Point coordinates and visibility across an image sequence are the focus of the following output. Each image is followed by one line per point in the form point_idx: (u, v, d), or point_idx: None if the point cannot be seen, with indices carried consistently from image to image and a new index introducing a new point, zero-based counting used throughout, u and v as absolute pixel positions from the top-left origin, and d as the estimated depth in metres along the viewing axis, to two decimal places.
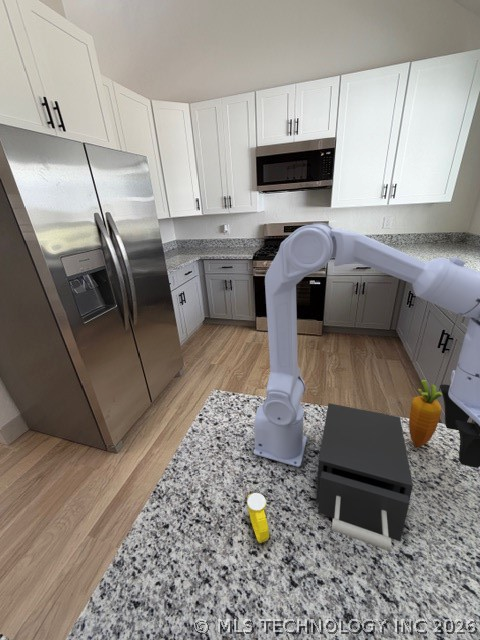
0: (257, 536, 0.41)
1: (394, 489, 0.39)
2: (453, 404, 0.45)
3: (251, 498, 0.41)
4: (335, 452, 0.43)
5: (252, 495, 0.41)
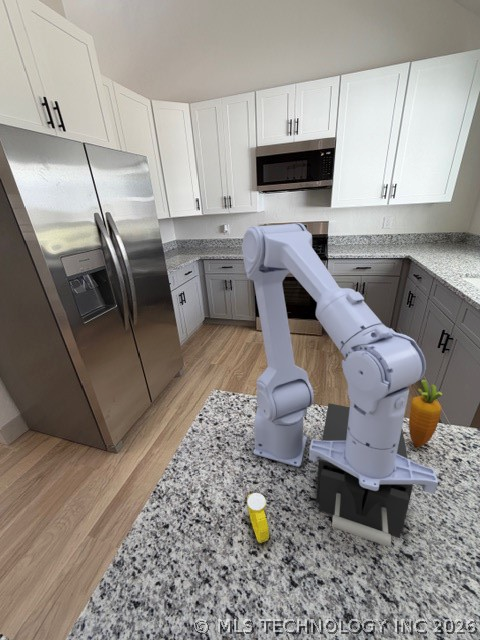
0: (257, 536, 0.41)
1: (394, 486, 0.40)
2: None
3: (251, 498, 0.41)
4: None
5: (252, 495, 0.41)
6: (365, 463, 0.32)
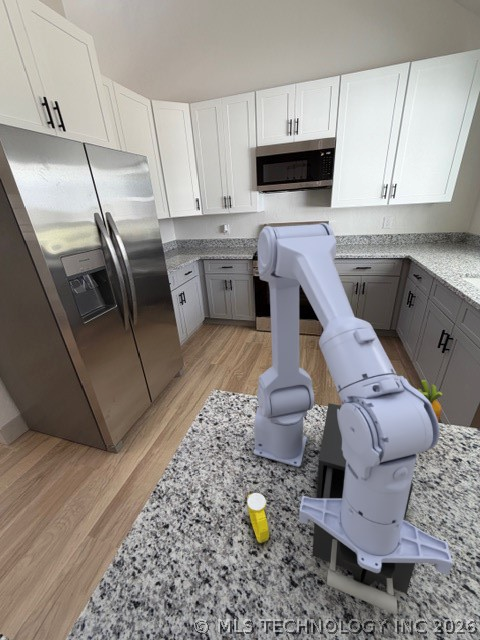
0: (257, 536, 0.41)
1: None
2: None
3: (251, 498, 0.41)
4: (335, 452, 0.43)
5: (252, 495, 0.41)
6: (364, 537, 0.27)
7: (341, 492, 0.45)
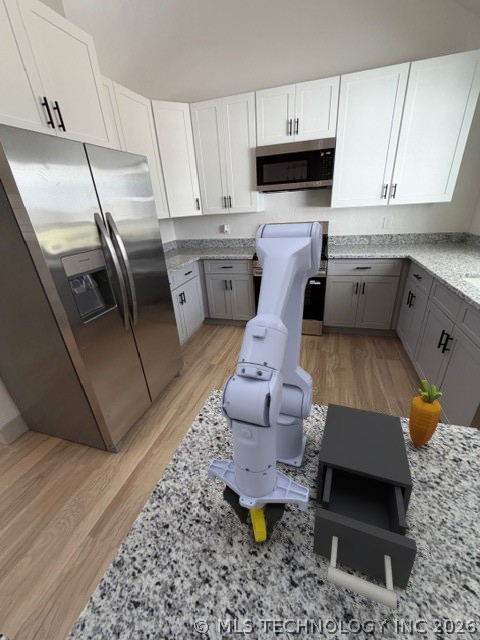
0: (255, 535, 0.41)
1: (399, 530, 0.34)
2: None
3: None
4: (335, 452, 0.43)
5: None
6: (244, 484, 0.36)
7: (341, 490, 0.45)
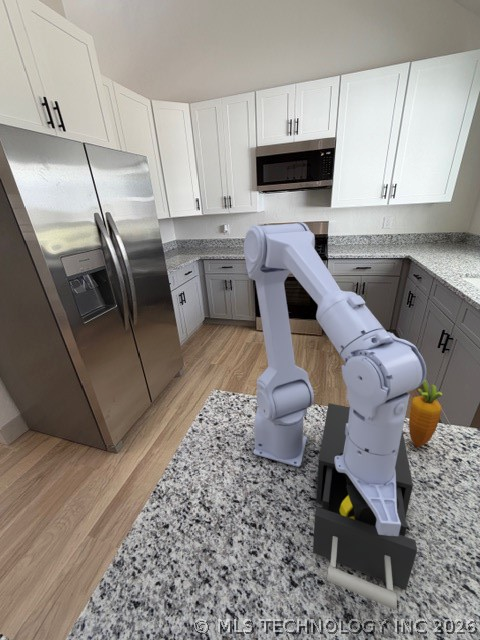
0: (350, 517, 0.38)
1: None
2: None
3: None
4: (335, 452, 0.43)
5: None
6: (345, 447, 0.35)
7: (341, 490, 0.45)
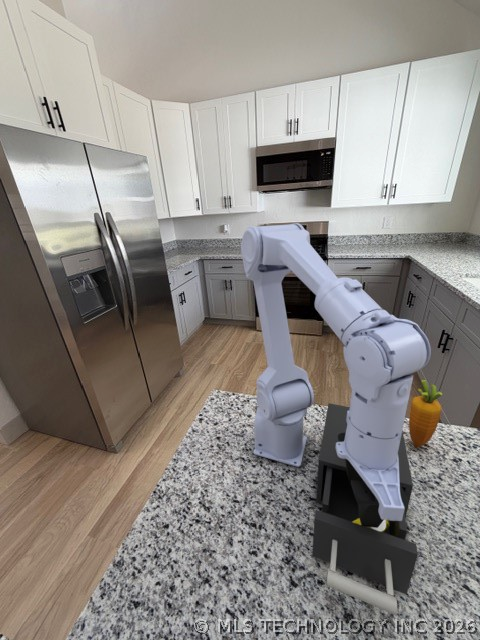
0: None
1: (399, 533, 0.34)
2: None
3: None
4: (335, 452, 0.43)
5: None
6: (347, 433, 0.34)
7: (341, 492, 0.45)
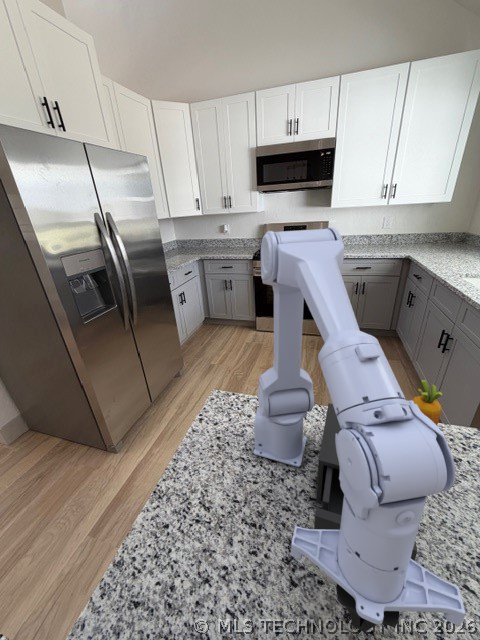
0: None
1: None
2: None
3: None
4: (335, 452, 0.43)
5: None
6: (364, 583, 0.23)
7: (341, 490, 0.45)
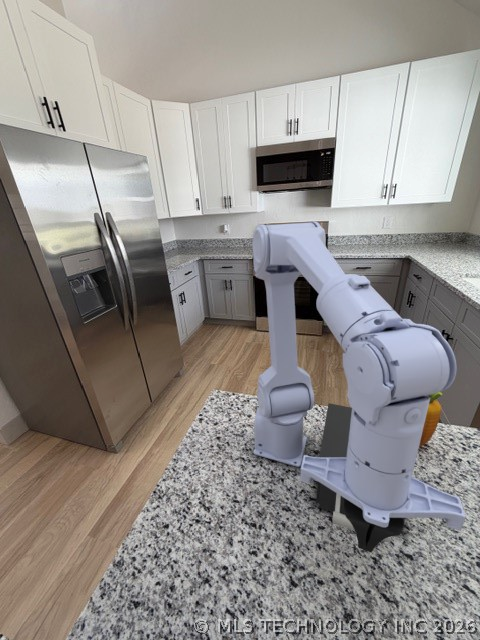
0: None
1: None
2: None
3: None
4: (335, 452, 0.43)
5: None
6: (371, 491, 0.25)
7: None
